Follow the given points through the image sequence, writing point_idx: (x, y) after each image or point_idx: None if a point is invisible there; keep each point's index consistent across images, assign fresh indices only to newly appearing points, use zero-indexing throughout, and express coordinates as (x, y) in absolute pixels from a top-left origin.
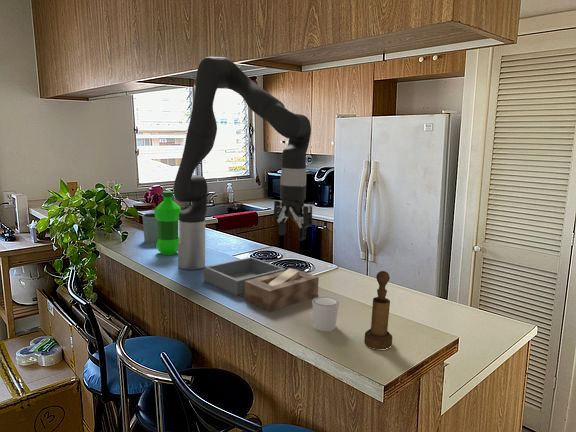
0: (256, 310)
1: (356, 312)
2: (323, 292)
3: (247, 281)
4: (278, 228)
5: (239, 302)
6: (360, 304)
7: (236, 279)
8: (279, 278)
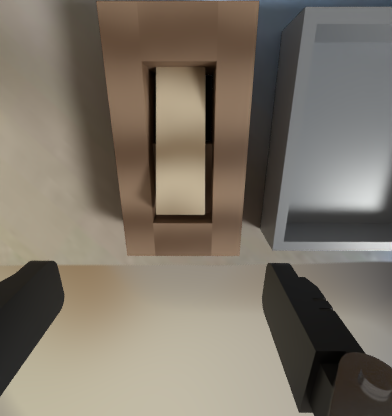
0: None
1: (10, 220)
2: None
3: (246, 7)
4: (326, 304)
5: None
6: None
7: (323, 19)
8: (189, 144)
